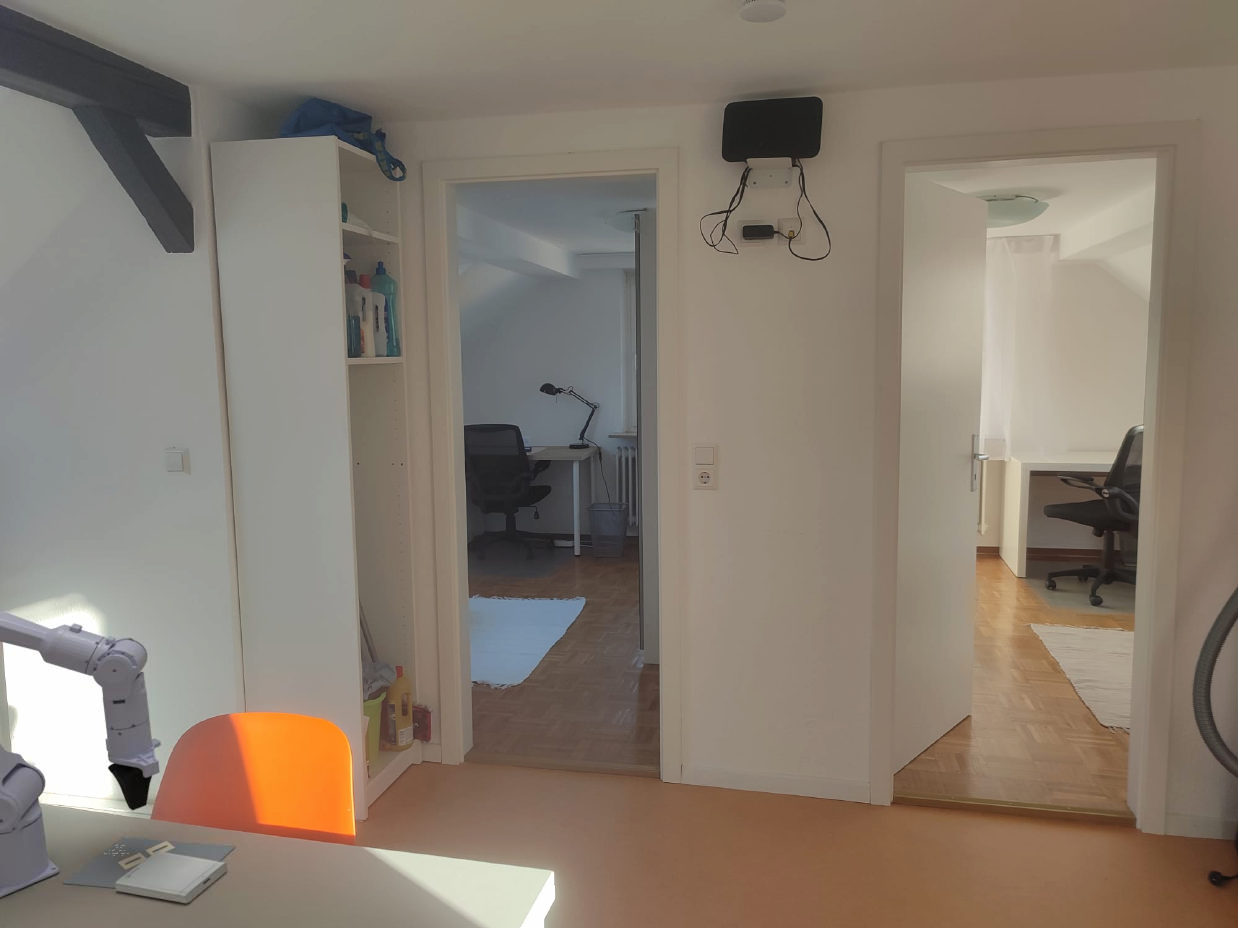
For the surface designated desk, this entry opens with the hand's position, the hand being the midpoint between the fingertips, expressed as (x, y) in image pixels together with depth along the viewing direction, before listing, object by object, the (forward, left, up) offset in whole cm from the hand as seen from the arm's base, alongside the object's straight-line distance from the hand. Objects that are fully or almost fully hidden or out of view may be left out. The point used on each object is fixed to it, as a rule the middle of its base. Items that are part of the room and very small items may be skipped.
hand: (137, 806), depth 134 cm
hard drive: (+10, 0, -8) cm, 13 cm away
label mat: (+3, 0, -8) cm, 9 cm away
